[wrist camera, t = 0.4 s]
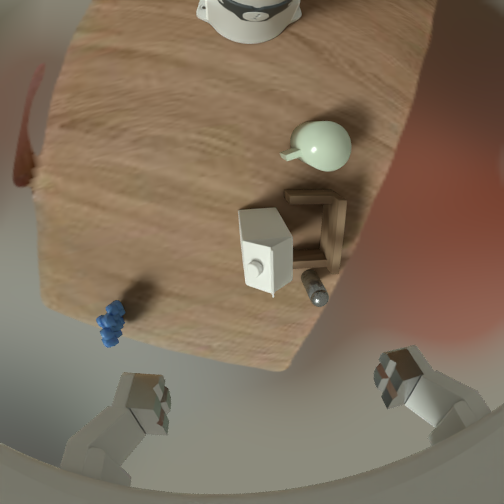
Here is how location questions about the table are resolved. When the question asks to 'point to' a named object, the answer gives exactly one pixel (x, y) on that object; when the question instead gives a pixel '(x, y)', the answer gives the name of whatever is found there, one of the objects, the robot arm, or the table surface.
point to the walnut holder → (322, 229)
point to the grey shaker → (314, 288)
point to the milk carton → (265, 249)
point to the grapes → (111, 323)
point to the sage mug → (319, 145)
